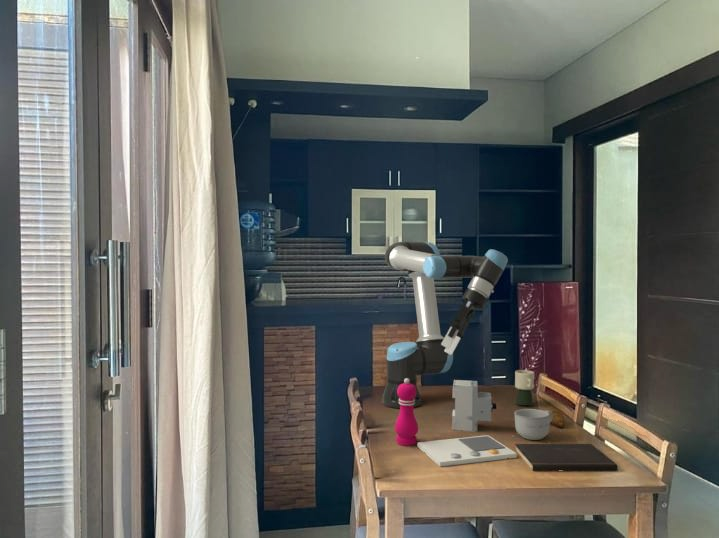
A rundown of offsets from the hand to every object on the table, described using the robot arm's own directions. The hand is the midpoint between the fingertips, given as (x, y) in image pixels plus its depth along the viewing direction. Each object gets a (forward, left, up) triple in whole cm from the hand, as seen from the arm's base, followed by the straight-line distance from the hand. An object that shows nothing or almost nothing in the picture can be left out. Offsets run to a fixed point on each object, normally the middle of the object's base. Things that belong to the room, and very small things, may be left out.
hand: (446, 350), depth 171 cm
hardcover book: (+29, +23, -28) cm, 46 cm away
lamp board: (+16, -1, -27) cm, 32 cm away
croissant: (-1, +42, -28) cm, 50 cm away
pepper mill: (+4, -15, -28) cm, 32 cm away
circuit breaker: (-3, +12, -28) cm, 30 cm away
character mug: (-22, +44, -28) cm, 57 cm away
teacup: (+10, +27, -28) cm, 40 cm away
